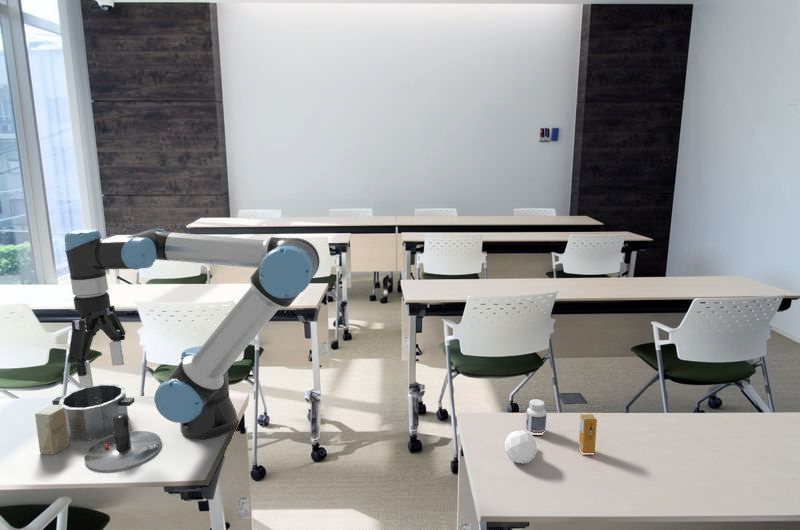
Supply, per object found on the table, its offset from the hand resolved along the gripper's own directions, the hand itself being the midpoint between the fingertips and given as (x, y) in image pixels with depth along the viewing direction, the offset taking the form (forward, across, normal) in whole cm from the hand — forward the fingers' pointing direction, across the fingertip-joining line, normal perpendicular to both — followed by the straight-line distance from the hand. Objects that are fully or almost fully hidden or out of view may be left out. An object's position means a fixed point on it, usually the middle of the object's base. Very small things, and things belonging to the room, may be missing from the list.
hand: (103, 375), depth 132 cm
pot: (+21, -13, -12) cm, 27 cm away
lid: (+21, 0, +3) cm, 21 cm away
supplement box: (+25, -3, +122) cm, 125 cm away
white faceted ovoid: (+24, 0, +105) cm, 108 cm away
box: (+21, 0, -16) cm, 26 cm away
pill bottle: (+25, -13, +112) cm, 115 cm away
